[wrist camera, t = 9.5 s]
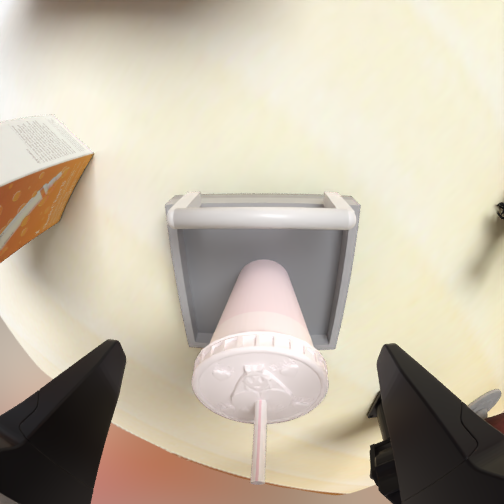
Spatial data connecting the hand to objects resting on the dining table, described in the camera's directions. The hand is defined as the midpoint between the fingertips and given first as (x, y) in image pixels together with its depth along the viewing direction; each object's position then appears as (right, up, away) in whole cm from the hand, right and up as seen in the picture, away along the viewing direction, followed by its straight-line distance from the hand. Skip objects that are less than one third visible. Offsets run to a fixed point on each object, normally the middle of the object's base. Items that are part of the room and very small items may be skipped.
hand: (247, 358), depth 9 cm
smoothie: (+1, +1, +12) cm, 12 cm away
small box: (-17, +11, +11) cm, 23 cm away
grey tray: (+1, +2, +14) cm, 14 cm away
